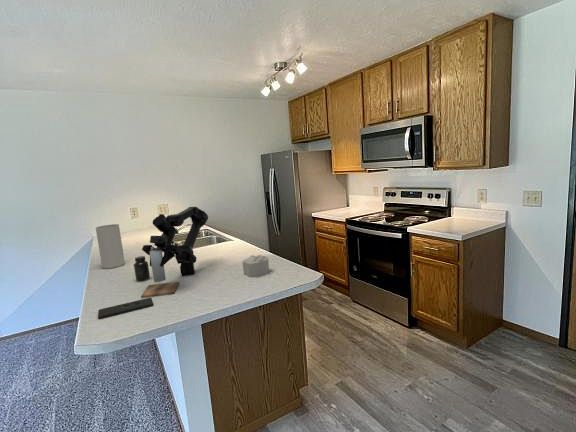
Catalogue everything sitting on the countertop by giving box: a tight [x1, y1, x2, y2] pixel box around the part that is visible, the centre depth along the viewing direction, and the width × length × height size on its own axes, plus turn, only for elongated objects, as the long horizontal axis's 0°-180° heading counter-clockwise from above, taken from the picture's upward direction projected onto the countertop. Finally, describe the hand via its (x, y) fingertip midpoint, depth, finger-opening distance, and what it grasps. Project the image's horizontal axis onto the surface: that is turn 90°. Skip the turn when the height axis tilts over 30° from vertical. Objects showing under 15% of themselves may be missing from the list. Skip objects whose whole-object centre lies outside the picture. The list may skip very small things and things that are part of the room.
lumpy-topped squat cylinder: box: [242, 254, 270, 278], centre depth 166 cm, size 10×13×9 cm
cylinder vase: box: [95, 223, 126, 270], centre depth 198 cm, size 12×12×25 cm
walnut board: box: [140, 281, 180, 299], centre depth 151 cm, size 14×14×1 cm
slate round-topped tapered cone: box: [149, 249, 166, 283], centre depth 149 cm, size 5×5×14 cm
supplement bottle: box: [133, 255, 151, 282], centre depth 169 cm, size 7×7×12 cm
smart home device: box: [97, 297, 154, 320], centre depth 132 cm, size 8×2×20 cm
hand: (155, 266), depth 148 cm, fingers closed on slate round-topped tapered cone, 5 cm apart
